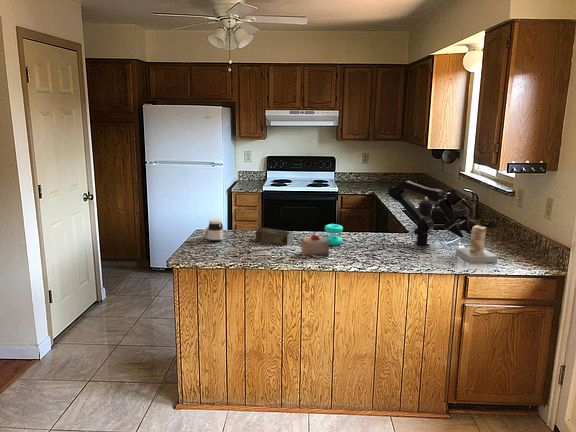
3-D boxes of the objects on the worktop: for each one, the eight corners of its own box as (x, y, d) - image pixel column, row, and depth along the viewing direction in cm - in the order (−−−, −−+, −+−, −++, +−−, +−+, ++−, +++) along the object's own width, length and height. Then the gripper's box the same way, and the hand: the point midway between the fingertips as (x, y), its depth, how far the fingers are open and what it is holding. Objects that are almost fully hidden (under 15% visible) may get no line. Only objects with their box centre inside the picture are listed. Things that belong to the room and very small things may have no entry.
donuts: (330, 222, 255) (346, 225, 249) (330, 239, 258) (345, 243, 252) (321, 226, 247) (337, 229, 242) (320, 243, 250) (336, 247, 244)
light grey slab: (455, 253, 237) (456, 248, 236) (480, 252, 239) (481, 247, 238) (470, 263, 223) (470, 257, 222) (496, 261, 225) (497, 256, 225)
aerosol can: (421, 231, 277) (424, 198, 272) (414, 227, 285) (416, 196, 280) (433, 230, 280) (436, 198, 275) (425, 226, 287) (428, 195, 282)
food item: (302, 257, 228) (303, 238, 226) (300, 252, 236) (300, 233, 233) (329, 256, 230) (330, 237, 227) (326, 251, 237) (327, 233, 235)
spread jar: (221, 243, 248) (221, 222, 245) (200, 242, 248) (199, 222, 245) (224, 237, 259) (224, 217, 256) (204, 236, 259) (204, 216, 257)
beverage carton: (287, 245, 246) (287, 234, 244) (255, 241, 252) (255, 230, 251) (292, 241, 253) (292, 230, 251) (261, 237, 260) (261, 226, 258)
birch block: (469, 252, 230) (472, 227, 227) (473, 249, 234) (476, 225, 231) (479, 254, 227) (482, 229, 224) (483, 252, 230) (486, 227, 227)
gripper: (452, 204, 225) (471, 230, 221) (468, 199, 238) (486, 223, 234) (435, 216, 233) (453, 242, 228) (452, 211, 246) (469, 235, 241)
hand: (466, 235), depth 232 cm, fingers open, 9 cm apart
